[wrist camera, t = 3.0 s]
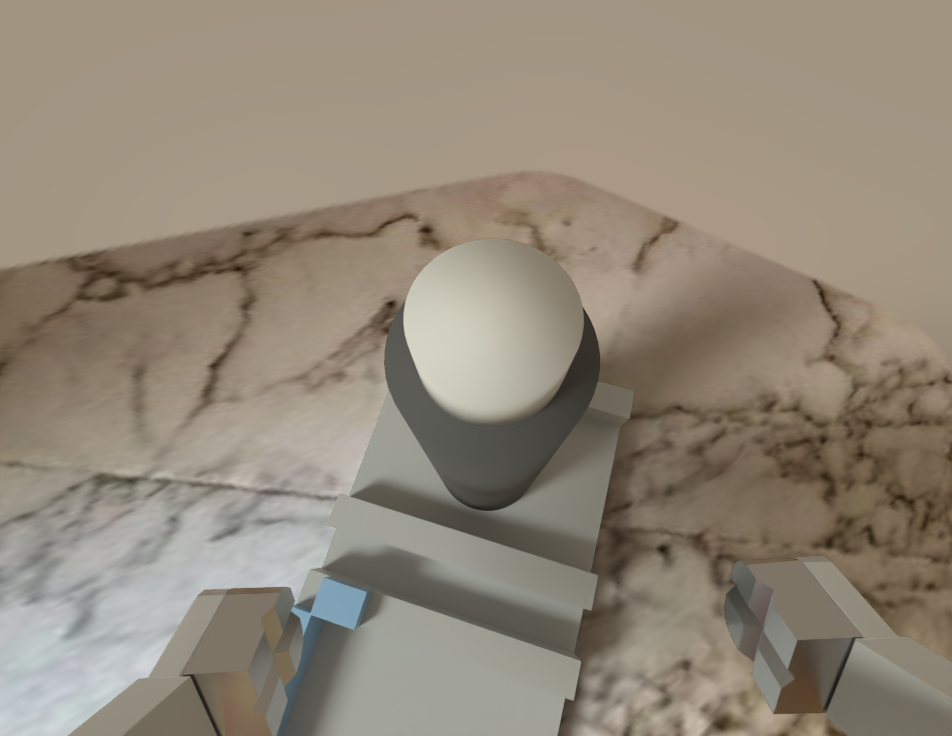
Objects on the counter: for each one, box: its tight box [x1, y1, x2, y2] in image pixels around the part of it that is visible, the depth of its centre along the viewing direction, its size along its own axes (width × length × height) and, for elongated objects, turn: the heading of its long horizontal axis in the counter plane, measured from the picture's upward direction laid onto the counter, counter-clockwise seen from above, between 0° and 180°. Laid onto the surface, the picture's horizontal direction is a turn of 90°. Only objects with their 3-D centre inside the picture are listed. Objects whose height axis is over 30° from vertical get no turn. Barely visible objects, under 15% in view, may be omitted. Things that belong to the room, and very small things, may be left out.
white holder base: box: [277, 381, 635, 736], centre depth 18 cm, size 10×21×3 cm, turn 163°
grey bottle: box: [384, 239, 600, 511], centre depth 14 cm, size 4×4×14 cm
